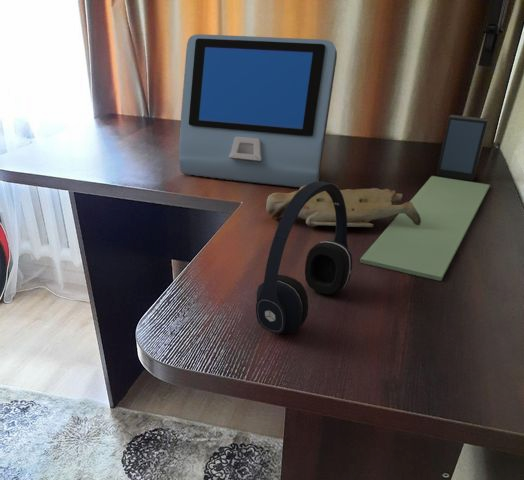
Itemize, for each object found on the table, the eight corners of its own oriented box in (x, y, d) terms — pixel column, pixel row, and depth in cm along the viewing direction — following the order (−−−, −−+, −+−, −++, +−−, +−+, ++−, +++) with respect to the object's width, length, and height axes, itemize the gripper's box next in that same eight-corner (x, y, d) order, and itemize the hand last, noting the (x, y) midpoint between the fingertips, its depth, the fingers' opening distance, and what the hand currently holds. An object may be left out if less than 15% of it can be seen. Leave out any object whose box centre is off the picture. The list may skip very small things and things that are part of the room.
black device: (474, 178, 129) (489, 118, 121) (472, 181, 127) (487, 121, 119) (438, 172, 132) (451, 114, 124) (435, 175, 130) (448, 117, 122)
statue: (413, 198, 104) (269, 214, 108) (416, 168, 98) (264, 186, 102) (421, 232, 98) (269, 248, 102) (426, 202, 93) (263, 219, 96)
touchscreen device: (176, 177, 125) (167, 34, 109) (207, 159, 141) (202, 32, 124) (314, 193, 117) (327, 41, 100) (330, 172, 133) (344, 38, 116)
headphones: (316, 277, 83) (326, 163, 73) (354, 288, 80) (371, 171, 70) (247, 332, 70) (246, 202, 59) (289, 348, 67) (297, 214, 56)
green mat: (489, 188, 123) (490, 184, 122) (441, 281, 83) (442, 277, 82) (431, 178, 128) (431, 175, 127) (359, 262, 88) (360, 258, 88)
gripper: (500, -60, 113) (473, 61, 127) (492, -65, 103) (463, 67, 117) (537, -60, 110) (505, 63, 124) (531, -66, 100) (497, 70, 114)
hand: (485, 65), depth 120 cm, fingers closed
